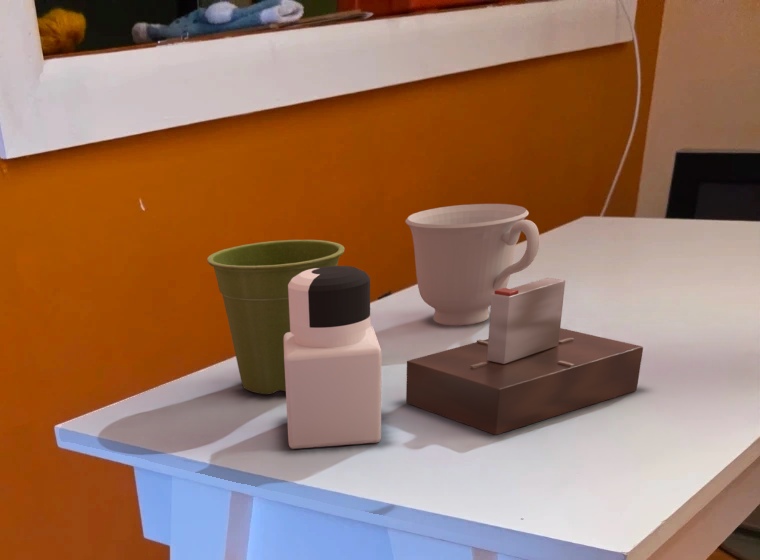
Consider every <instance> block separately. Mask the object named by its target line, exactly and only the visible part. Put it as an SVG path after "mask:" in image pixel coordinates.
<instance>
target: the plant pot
mask: <svg viewBox="0 0 760 560" xmlns="http://www.w3.org/2000/svg"><path fill="white" fill-rule="evenodd" d="M345 250H346V248H345V247H344V245H342V244H341V243H338V242H334V241H329V240H320V239H288V240H287V239H286V240H284V239H283V240H272V241H261V242H254V243H248V244H242V245H238V246H232V247H229V248H224V249H221V250H219V251H218V250H217V251H216V252H213V253H212V254H210V255H209V256H208V257H207V259H206V261H207V264H208V265H210V266H211V267H212V268H213V270H214V272H215V276H216V281H217V286H218V287H217V288H218V291H219V293H220V294H221V296H222V299H223V303H224V308H225V313H226V317H227V322H228V326H229V331H230V336H231V341H232V345H233V350H234V354H235V358H236V364H237V368H238V373H239V377H240V381H241V385H242V387H243V388H244V389H245V390H247V391H249V392H253V393H258V394H260V395H272V394H274V393H276V392H278V391H283V392H286V384H285V365H284V335H285V334H286V333H287V332H290V315H289V295H288V284H289V282H290V281H291V279H292V278H293V277H295V276H296V275H298V274H300V273H301V272H303V271H306V270H309V269H314V268H319V267H328V266H339V259H340V257H342V256H343V255H344V253H345Z"/></svg>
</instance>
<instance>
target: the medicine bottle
mask: <svg viewBox="0 0 760 560" xmlns="http://www.w3.org/2000/svg"><path fill="white" fill-rule="evenodd" d="M288 295H289V315H290V332H287V333H286V334H285V335H284V365H285V384H286V391H285V401H286V418H287V419H286V420H287V439H288V440H287V441H288V447H289V448H290V449H291V450H297V449H309V448H311V449H312V448H323V447H324V448H325V447H337V446H349V445H351V446H352V445H363V444H375V443H380V441H381V439H382V349H381V346H380V343H379V340H378V337H377V334H376V332H375V331H376V330H375V329H374V327H373V326H372V325H371V277H370V275H368V273H367V272H366V271H364V270H363V269H360V268H357V267H354V266H350V265H337V266H328V267H319V268H314V269H309V270H306V271H303V272H301V273H300V274H298V275H296V276H295V277H293V278H292V279H291V281H290V282H289V284H288Z"/></svg>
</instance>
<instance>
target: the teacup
mask: <svg viewBox="0 0 760 560" xmlns="http://www.w3.org/2000/svg"><path fill="white" fill-rule="evenodd" d="M529 214H530V213H529V211H528V210H527V208H525V207H524V206H521V205H515V204H509V203H508V204H507V203H471V204H459V205H458V204H457V205H449V206H442V207H435V208H430V209H425V210H421V211H418V212H415V213H412V214H410V215H408V217H407V218H406V219H405V220H404V221H405V224H406V225H407V226H408V227H409V229H410V232H411V235H412V236H411V237H412V243H413V250H414V261H415V270H416V271H415V274H416V281H417V288H418V292H419V296H420V297H421V299H422V300H423V302H424V303H425V304H426V305H428V306H429V307H431V308H433V309H434V315H433V321H434V322H435V323H437V324H440V325H444V326H445V325H446V326H468V325H469V326H470V325H474V324H475V325H476V324H479V323H483V322H485V321H487V320H488V319H490V312H489V308H490V307H491V295H492V294H494V293H495V290H499V289H502V288H507V287H508V285H509V281H510V277H511V275H513V274H516V273H519V272H522V271H523V270H525V269H527V268H528V267H529V266H530V265H531V264H532V263H533V262H534V261H535V259H536V257H537V255H538V252H539V250H540V249H539V248H540V239H541V238H540V232H539V228H538V226H537V224H536V223H534V222H533V221H532V220H529V219H526V218H527V217H528V216H529ZM522 233H523V234H524V235H525V238H526V248H525V252H524V253H523V255H522V256H521V258H520V259H519V260H518V261H516V262H515V263H514V258H515V252H516V247H517V243H518V241H519V240H520V236H521V234H522Z"/></svg>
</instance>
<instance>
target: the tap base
mask: <svg viewBox="0 0 760 560" xmlns="http://www.w3.org/2000/svg"><path fill="white" fill-rule="evenodd" d="M643 351H644V346H642V345H637V344H634V343H629V342H625V341H620V340H615V339H611V338H607V337H602V336H598V335H593V334H588V333H584V332H579V331H576V330H571V329H566V328H562V327H560V335H559V345H558V346H555V347H552V348H549V349H546V350H544V351H541V352H538V353H535V354H532V355H529V356H526V357H523V358H520V359H517V360H514V361H512V362H509V363H506V364H501V363H497V362H492V361H488V360H487V353H488V338H487V339H483V340H482V339H477V340H476V341H475V342H472V343H468V344H464V345H461V346H457V347H454V348H450V349H446V350H442V351H438V352H435V353H431V354H428V355H424V356H420V357H417V358H412V359H408V360H407V361H406V387H405V390H406V391H405V403H406V404H408V405H411V406H414V407H416V408H420V409H422V410H425V411H428V412H430V413H433V414H436V415H440V416H441V417H443V418H444V417H445V418H446V419H447V418H448V419H449V420H453V421H456V422H459V423H462V424H464V425H466V426H470V427H473V428H475V429H477V430H481V431H483V432H487V433H489V434H492V435H495V436H497V435H500V434H504V433H506V432H510V431H513V430H516V429H519V428H523V427H525V426H528V425H532V424H535V423H538V422H542V421H544V420H545V421H546V420H547V419H548V420H549V419H551V418H553V417H557V416H560V415H564V414H566V413H570V412H573V411H576V410H580V409H582V408H587V407H588V406H592V405H594V404H598V403H601V402H604V401H608V400H611V399H614V398H616V397H620V396H623V395H627V394H630V393H633V392H636V391H637V389H638V385H639V384H638V383H639V377H640V371H641V365H642V359H643V358H642V357H643V353H644V352H643Z"/></svg>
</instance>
